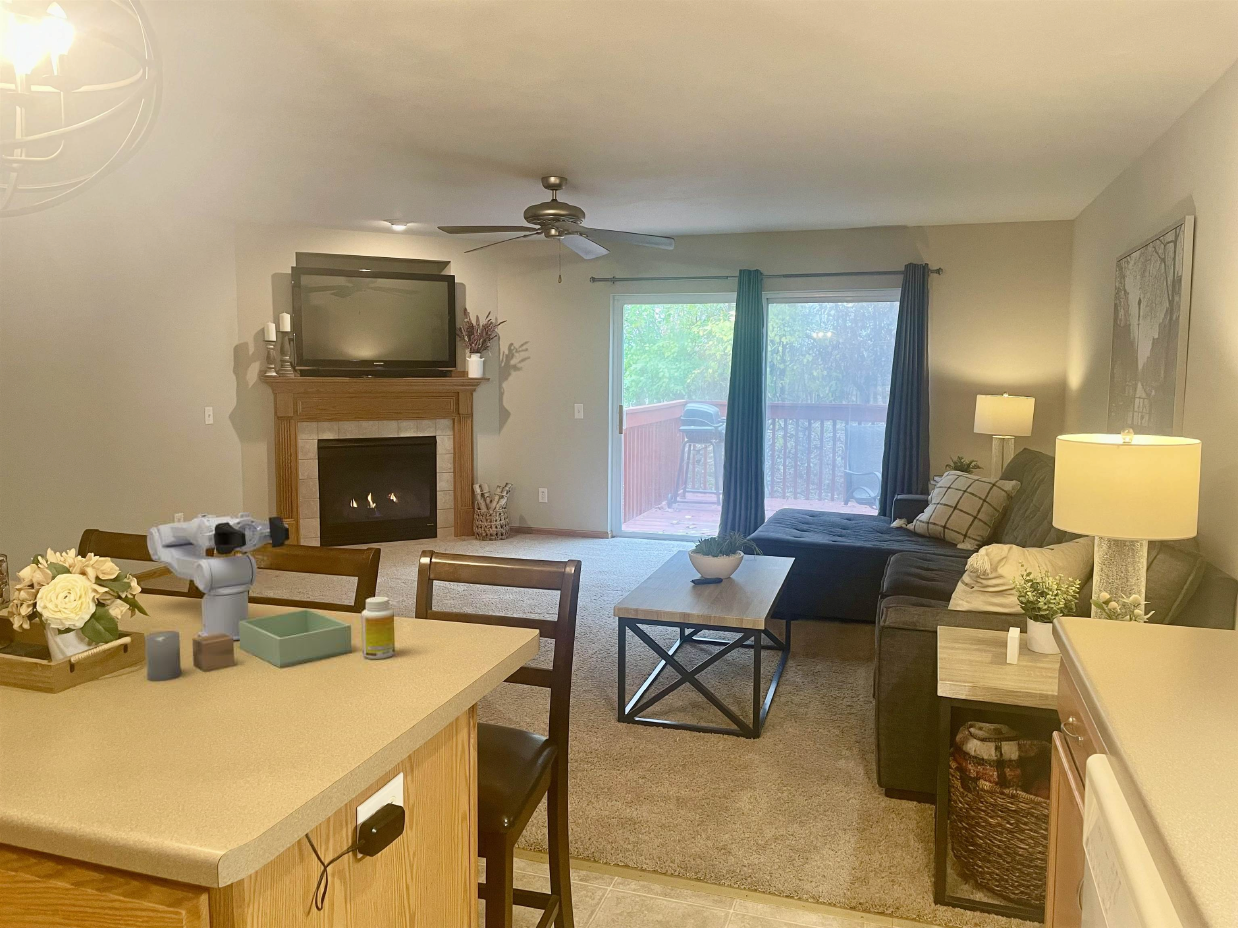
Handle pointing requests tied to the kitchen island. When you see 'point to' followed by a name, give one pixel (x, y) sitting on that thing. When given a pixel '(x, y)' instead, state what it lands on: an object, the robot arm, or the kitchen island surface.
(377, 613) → the supplement bottle
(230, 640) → the cube
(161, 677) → the cylinder
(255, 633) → the tote
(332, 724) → the kitchen island surface
